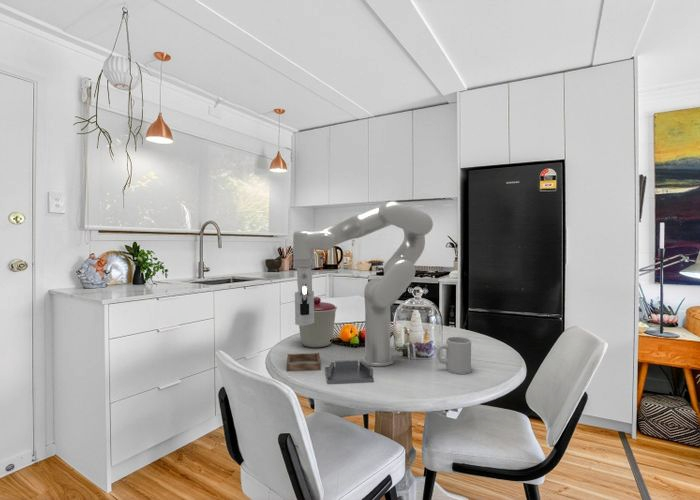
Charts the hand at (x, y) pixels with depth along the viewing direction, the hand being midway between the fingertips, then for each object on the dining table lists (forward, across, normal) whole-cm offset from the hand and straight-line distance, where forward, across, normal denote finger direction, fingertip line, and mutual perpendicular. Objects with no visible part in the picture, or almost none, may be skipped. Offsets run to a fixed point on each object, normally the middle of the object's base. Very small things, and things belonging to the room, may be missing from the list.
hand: (304, 312), depth 140 cm
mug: (+21, -12, -52) cm, 58 cm away
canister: (+20, +27, -5) cm, 34 cm away
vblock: (+20, -13, -14) cm, 28 cm away
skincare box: (+5, 0, 0) cm, 5 cm away
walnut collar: (+20, 0, +1) cm, 20 cm away
